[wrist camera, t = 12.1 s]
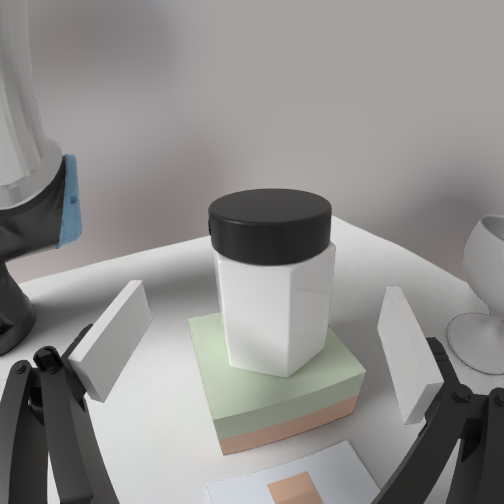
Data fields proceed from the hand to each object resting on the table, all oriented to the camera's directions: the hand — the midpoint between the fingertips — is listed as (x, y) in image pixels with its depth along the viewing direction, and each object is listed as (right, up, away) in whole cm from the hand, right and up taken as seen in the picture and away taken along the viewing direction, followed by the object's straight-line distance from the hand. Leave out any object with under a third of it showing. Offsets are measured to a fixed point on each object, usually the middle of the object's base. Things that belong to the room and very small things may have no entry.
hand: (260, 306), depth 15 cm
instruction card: (+3, -16, 0) cm, 16 cm away
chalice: (+29, -9, +12) cm, 33 cm away
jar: (+1, -5, +9) cm, 11 cm away
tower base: (+1, -10, +11) cm, 15 cm away
